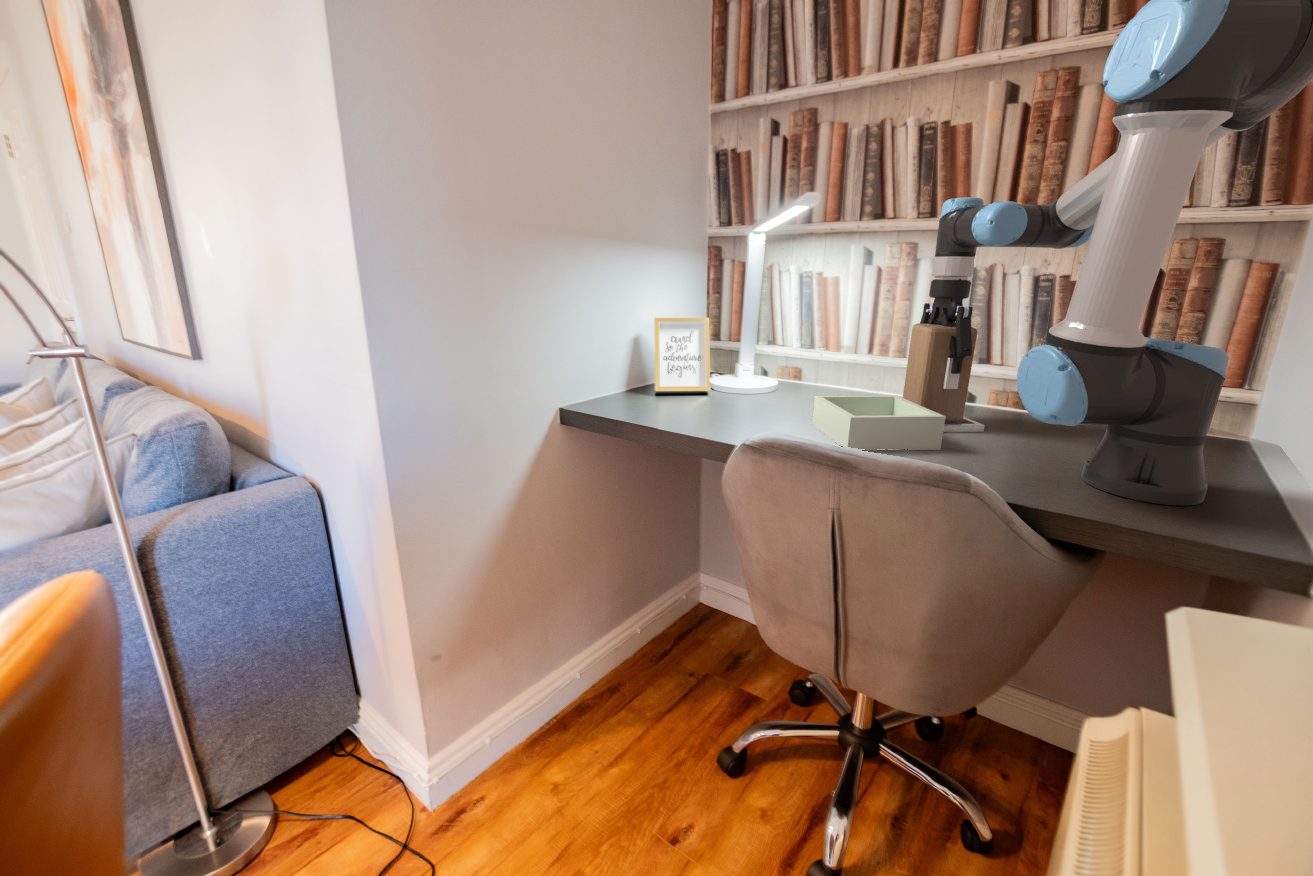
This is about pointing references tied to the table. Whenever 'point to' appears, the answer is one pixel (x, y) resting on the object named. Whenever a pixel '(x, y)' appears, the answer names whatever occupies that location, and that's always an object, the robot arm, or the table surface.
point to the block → (936, 371)
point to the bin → (878, 422)
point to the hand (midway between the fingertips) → (935, 383)
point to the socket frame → (964, 426)
